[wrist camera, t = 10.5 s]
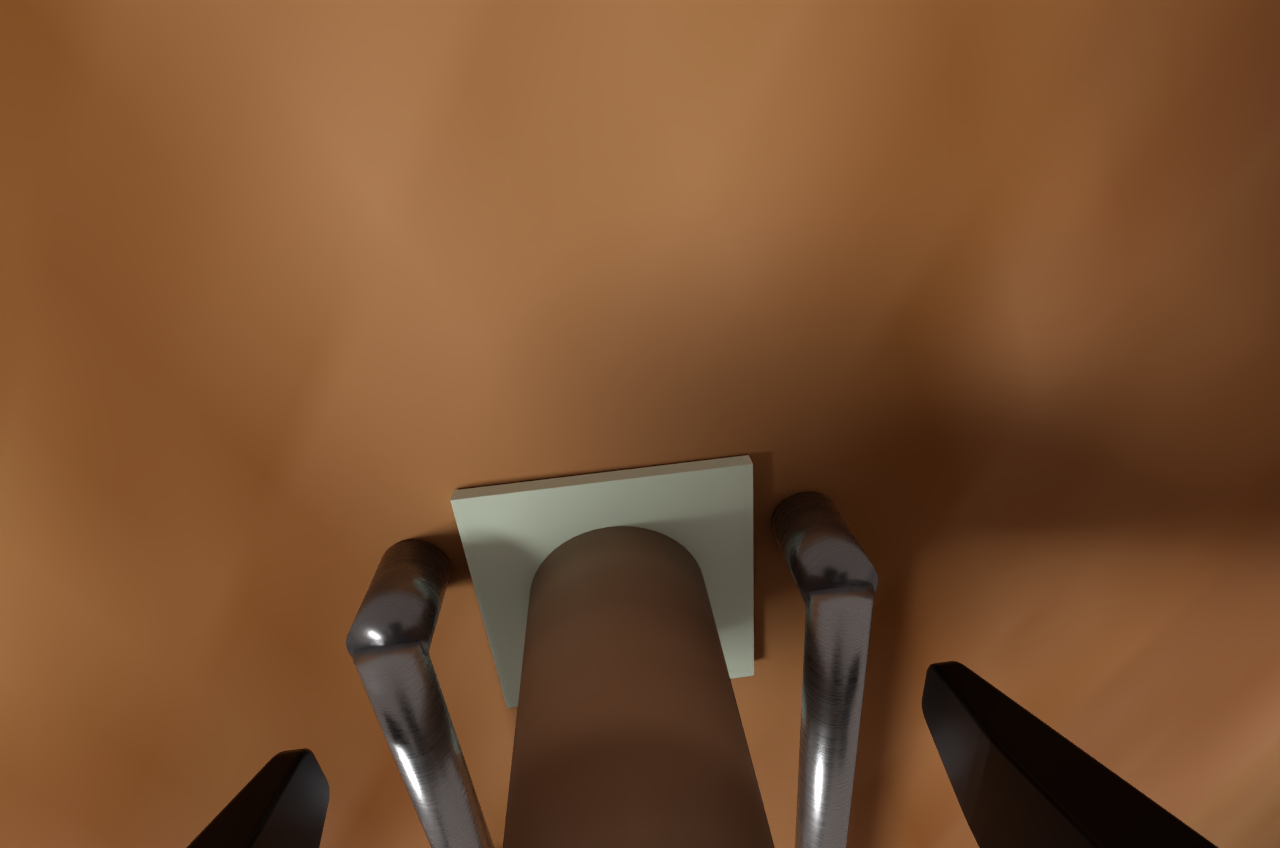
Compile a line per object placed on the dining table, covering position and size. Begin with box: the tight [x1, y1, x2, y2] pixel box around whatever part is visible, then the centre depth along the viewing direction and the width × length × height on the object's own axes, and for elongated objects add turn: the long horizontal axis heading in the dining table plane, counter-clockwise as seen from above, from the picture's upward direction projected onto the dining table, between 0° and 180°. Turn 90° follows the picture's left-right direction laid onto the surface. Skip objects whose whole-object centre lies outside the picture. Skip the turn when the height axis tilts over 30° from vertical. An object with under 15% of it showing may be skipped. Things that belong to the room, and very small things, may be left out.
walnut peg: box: [503, 526, 775, 848], centre depth 8 cm, size 3×3×8 cm
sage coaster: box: [450, 455, 754, 708], centre depth 11 cm, size 5×5×1 cm
